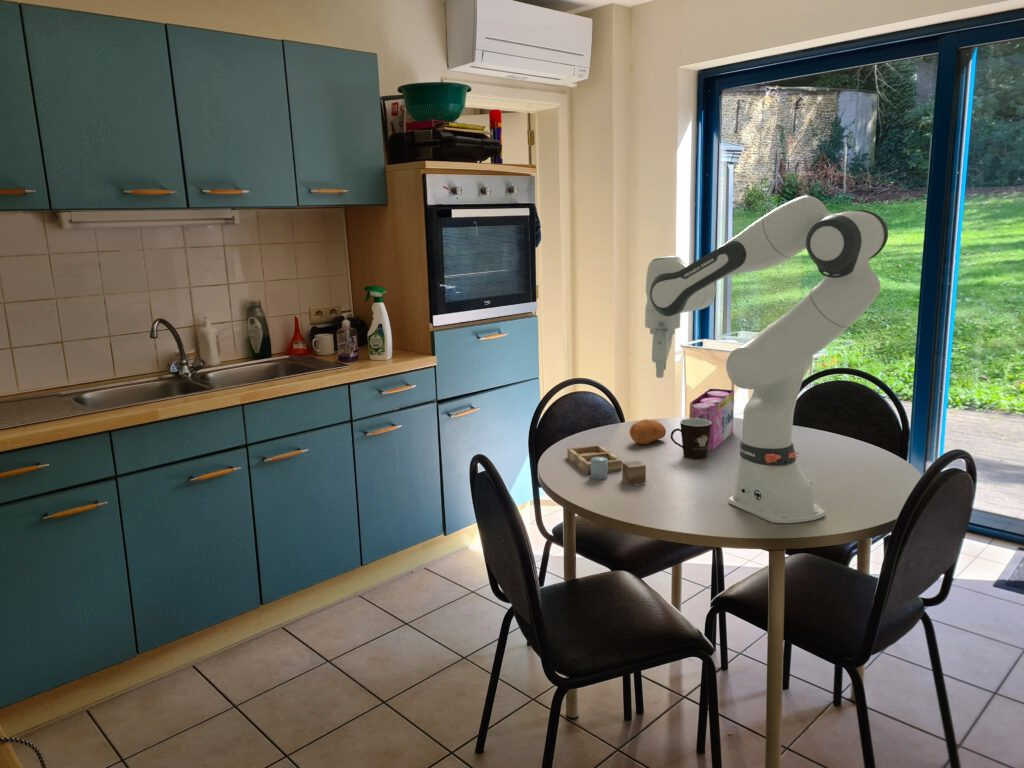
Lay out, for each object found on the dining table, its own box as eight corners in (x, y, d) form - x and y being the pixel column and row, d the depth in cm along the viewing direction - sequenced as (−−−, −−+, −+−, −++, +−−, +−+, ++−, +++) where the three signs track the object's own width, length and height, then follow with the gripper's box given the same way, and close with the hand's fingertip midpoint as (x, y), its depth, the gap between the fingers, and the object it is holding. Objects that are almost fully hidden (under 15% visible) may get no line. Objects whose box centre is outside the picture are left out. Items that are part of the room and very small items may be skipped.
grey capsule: (610, 479, 202) (610, 460, 201) (594, 480, 201) (594, 462, 200) (603, 474, 207) (603, 456, 206) (588, 475, 206) (588, 457, 204)
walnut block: (645, 484, 198) (645, 465, 197) (629, 486, 197) (629, 467, 196) (638, 478, 202) (638, 460, 201) (622, 480, 201) (622, 462, 200)
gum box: (712, 452, 223) (713, 406, 221) (685, 448, 227) (686, 404, 224) (733, 432, 244) (734, 390, 241) (708, 429, 248) (709, 387, 245)
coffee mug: (708, 451, 224) (709, 418, 221) (712, 460, 215) (713, 426, 213) (667, 451, 225) (668, 418, 223) (670, 460, 216) (671, 426, 214)
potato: (623, 443, 234) (624, 420, 233) (655, 436, 241) (655, 414, 240) (639, 448, 228) (640, 425, 227) (671, 441, 235) (671, 418, 234)
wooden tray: (621, 470, 209) (622, 460, 209) (587, 474, 207) (587, 464, 206) (599, 453, 224) (599, 444, 224) (567, 457, 222) (567, 448, 221)
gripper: (673, 326, 186) (671, 382, 189) (676, 315, 205) (675, 366, 209) (646, 326, 188) (645, 381, 191) (652, 314, 207) (651, 365, 210)
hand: (661, 373), depth 200 cm, fingers open, 8 cm apart
